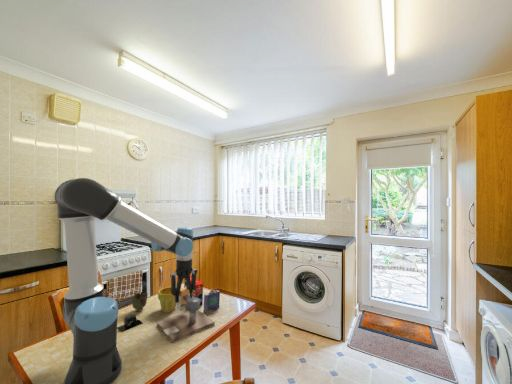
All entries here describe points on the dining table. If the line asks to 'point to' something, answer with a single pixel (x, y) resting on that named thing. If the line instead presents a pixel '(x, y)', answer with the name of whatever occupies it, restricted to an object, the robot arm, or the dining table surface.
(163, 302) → the plant pot
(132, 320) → the black rounded lump
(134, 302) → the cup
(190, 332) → the post base
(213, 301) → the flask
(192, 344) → the dining table surface
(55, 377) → the dining table surface
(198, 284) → the toy box
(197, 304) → the grey joystick lever
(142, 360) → the dining table surface
